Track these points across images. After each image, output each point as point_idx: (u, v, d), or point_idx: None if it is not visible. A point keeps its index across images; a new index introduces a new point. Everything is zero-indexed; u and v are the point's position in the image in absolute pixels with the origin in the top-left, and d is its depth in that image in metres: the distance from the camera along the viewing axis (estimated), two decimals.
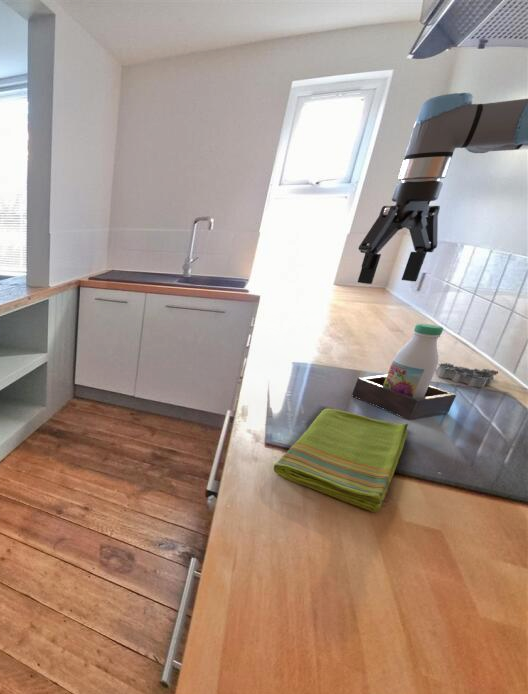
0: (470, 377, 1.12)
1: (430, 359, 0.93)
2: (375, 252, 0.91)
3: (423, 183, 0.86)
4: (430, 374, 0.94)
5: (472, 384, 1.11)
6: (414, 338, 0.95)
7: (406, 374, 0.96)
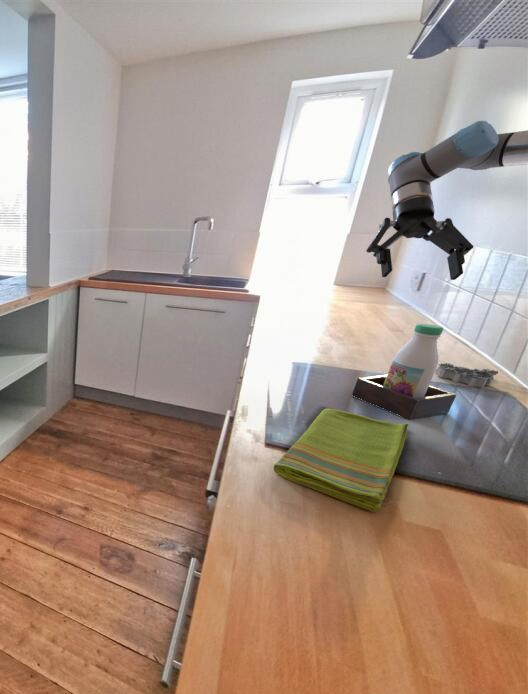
0: (470, 377, 1.12)
1: (430, 359, 0.93)
2: (381, 247, 1.02)
3: (406, 200, 1.04)
4: (430, 374, 0.94)
5: (472, 384, 1.11)
6: (414, 338, 0.95)
7: (406, 374, 0.96)
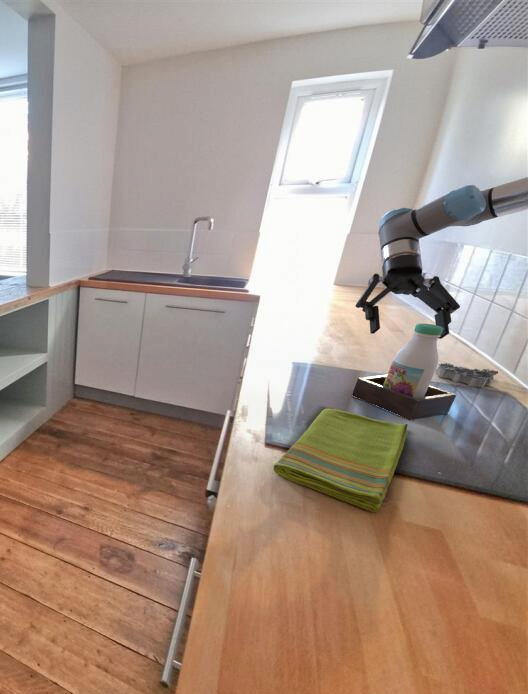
0: (470, 377, 1.12)
1: (430, 359, 0.93)
2: (370, 304, 1.04)
3: (395, 257, 1.06)
4: (430, 374, 0.94)
5: (472, 384, 1.11)
6: (414, 338, 0.95)
7: (406, 374, 0.96)
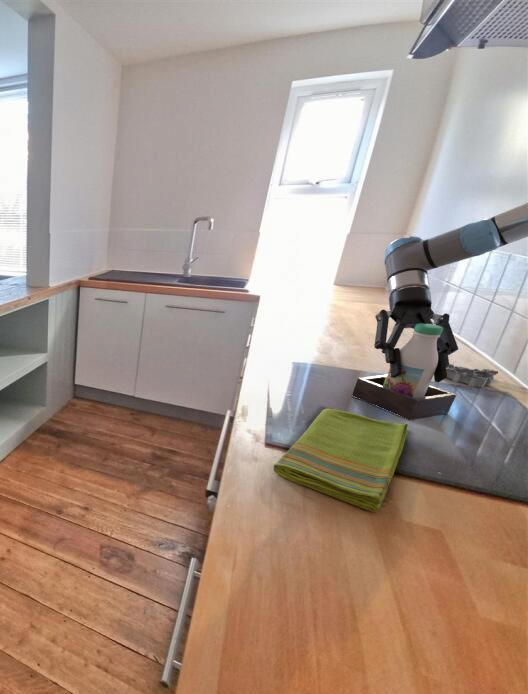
0: (470, 377, 1.12)
1: (430, 359, 0.93)
2: (391, 346, 0.98)
3: (402, 289, 1.01)
4: (430, 374, 0.94)
5: (472, 384, 1.11)
6: (414, 338, 0.95)
7: (406, 374, 0.96)
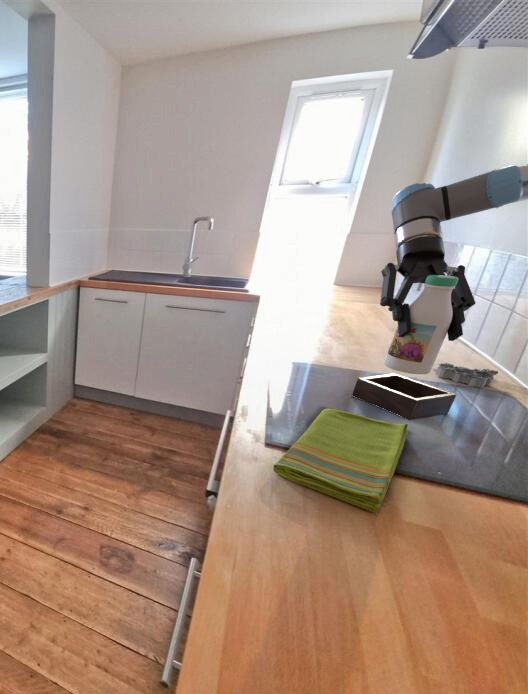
0: (470, 377, 1.12)
1: (443, 314, 0.82)
2: (399, 302, 0.87)
3: (412, 239, 0.90)
4: (443, 331, 0.83)
5: (472, 384, 1.11)
6: (425, 291, 0.84)
7: (416, 332, 0.85)
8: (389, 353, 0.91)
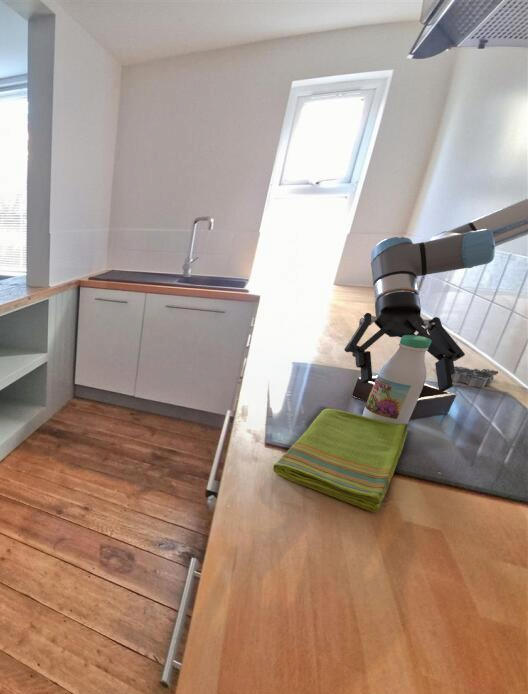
0: (470, 377, 1.12)
1: (417, 374, 0.85)
2: (361, 349, 0.90)
3: (389, 294, 0.92)
4: (417, 390, 0.86)
5: (472, 384, 1.11)
6: (400, 351, 0.86)
7: (391, 390, 0.87)
8: (366, 407, 0.93)
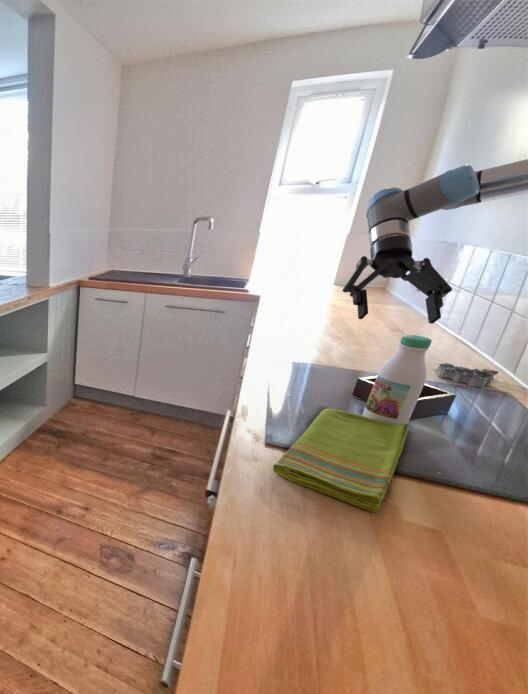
0: (470, 377, 1.12)
1: (417, 374, 0.85)
2: (358, 288, 0.98)
3: (383, 238, 1.00)
4: (417, 391, 0.86)
5: (472, 384, 1.11)
6: (400, 351, 0.86)
7: (391, 390, 0.87)
8: (366, 407, 0.93)
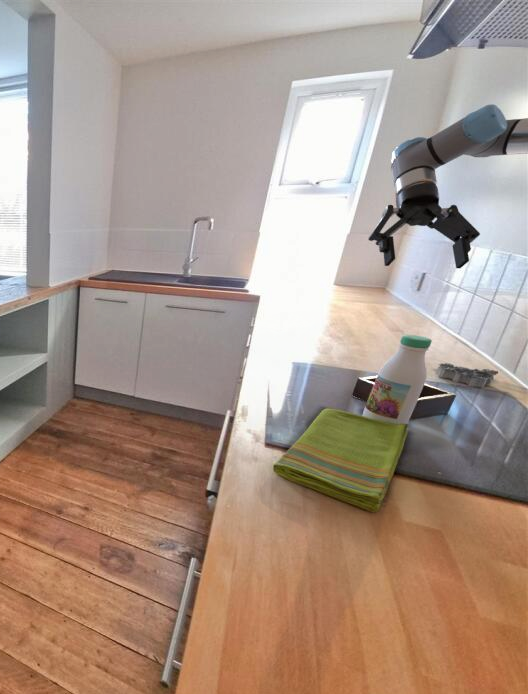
0: (470, 377, 1.12)
1: (417, 374, 0.85)
2: (384, 235, 0.99)
3: (410, 187, 1.00)
4: (417, 391, 0.86)
5: (472, 384, 1.11)
6: (400, 351, 0.86)
7: (391, 390, 0.87)
8: (366, 407, 0.93)
